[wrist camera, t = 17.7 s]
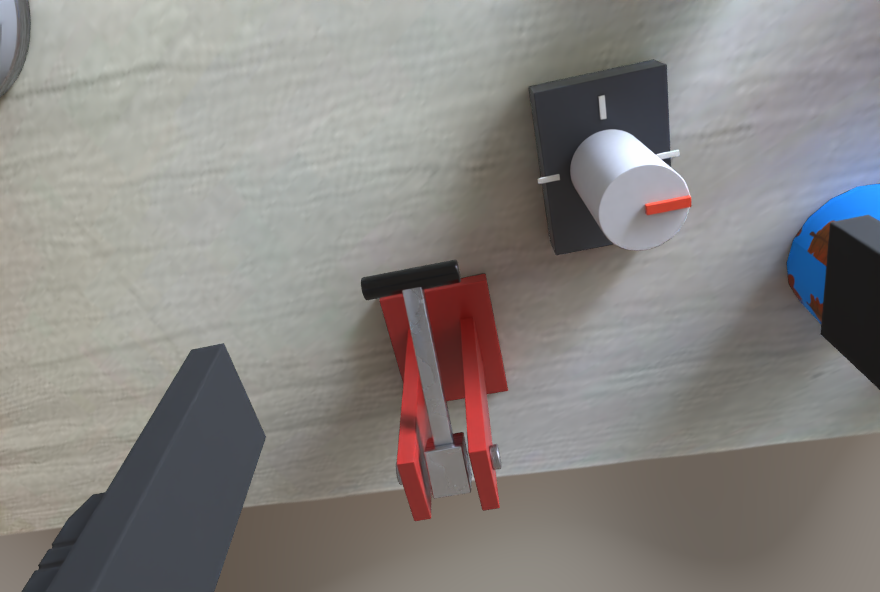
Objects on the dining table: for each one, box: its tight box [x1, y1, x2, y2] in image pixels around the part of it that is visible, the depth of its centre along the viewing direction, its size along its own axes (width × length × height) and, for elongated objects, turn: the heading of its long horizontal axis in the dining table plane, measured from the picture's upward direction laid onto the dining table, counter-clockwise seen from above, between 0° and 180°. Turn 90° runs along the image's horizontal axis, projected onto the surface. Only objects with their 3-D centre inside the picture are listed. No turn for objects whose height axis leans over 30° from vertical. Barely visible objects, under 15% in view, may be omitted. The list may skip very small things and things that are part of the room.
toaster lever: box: [361, 260, 472, 498], centre depth 36 cm, size 13×6×2 cm, turn 12°
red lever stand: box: [380, 274, 508, 521], centre depth 42 cm, size 10×8×16 cm
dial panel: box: [529, 59, 679, 255], centre depth 41 cm, size 11×9×3 cm
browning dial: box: [570, 129, 691, 251], centre depth 36 cm, size 5×5×8 cm
